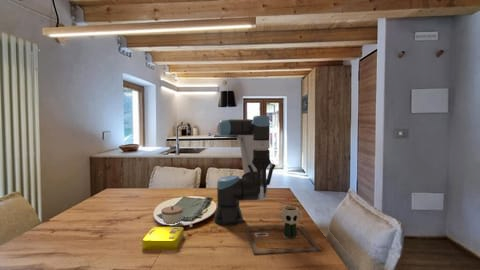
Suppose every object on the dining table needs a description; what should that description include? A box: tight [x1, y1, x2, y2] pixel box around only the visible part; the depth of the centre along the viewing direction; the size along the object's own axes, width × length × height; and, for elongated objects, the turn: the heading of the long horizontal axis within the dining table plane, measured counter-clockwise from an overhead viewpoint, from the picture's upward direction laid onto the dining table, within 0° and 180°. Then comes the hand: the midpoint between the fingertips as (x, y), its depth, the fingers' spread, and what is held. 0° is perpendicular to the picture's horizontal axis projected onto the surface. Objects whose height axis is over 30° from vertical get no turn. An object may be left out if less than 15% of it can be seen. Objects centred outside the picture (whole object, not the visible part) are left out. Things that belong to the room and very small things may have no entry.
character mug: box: [278, 205, 303, 237], centre depth 128 cm, size 11×7×13 cm, turn 92°
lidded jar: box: [161, 205, 184, 225], centre depth 143 cm, size 11×11×9 cm
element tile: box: [141, 226, 185, 251], centre depth 123 cm, size 15×15×5 cm
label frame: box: [245, 225, 323, 256], centre depth 124 cm, size 28×25×1 cm
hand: (261, 200), depth 129 cm, fingers closed
